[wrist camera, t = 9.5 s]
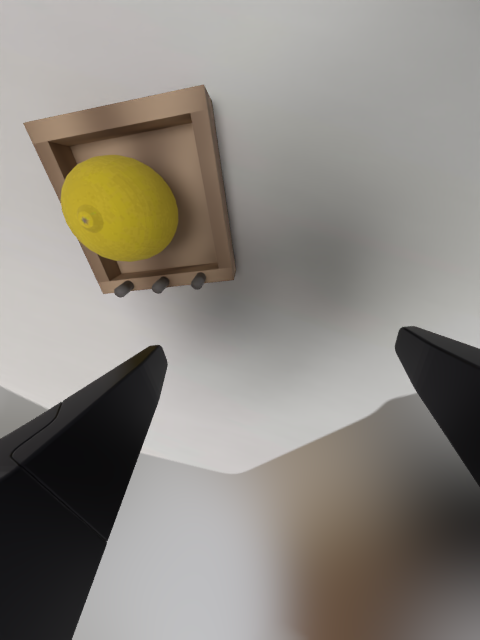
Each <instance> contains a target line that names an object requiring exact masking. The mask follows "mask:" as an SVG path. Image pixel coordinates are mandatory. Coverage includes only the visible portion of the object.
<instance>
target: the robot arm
mask: <svg viewBox="0 0 480 640" xmlns="http://www.w3.org/2000/svg"><path fill="white" fill-rule="evenodd" d="M395 351H396V353H397V355H398V357H399V359H400V361H401V363H402V365H403V367H404V369H405V371H406V373H407V375H408V377H409V379H410V381H411V383H412V384H413V386H414V388H415V390H416V391H417V393H418V395H419V396H420V397H421V399H422V401H423V402H424V404H425V405H426V407H427V408H428V410H429V411H430V413H431V414H432V416H433V417H434V419H435V420H436V422H437V423H438V425H439V426H440V428H441V429H442V431H443V432H444V434H445V435H446V437H447V438H448V440H449V441H450V443H451V445H452V446H453V447H454V449H455V451H456V452H457V454H458V455H459V456H460V458H461V460H462V461H463V463H464V464H465V466H466V467H467V469H468V470H469V472H470V473H471V475H472V476H473V478H474V479H475V481H476V482H477V484H478V485H479V487H480V349H479V348H476V347H473V346H470V345H467V344H464V343H461V342H459V341H456V340H453V339H450V338H447V337H444V336H441V335H438V334H436V333H433V332H430V331H427V330H424V329H421V328H418V327H415V326H409V327H402V328H400V330H399V332H398V336H397V340H396V344H395ZM167 365H168V364H167V359H166V356H165V354H164V351H163V348H162V347H161V346H160V345H153V346H149V347H147V348H146V349H144V350H143V351H141V352H139V353H138V354H136V355H135V356H133V357H132V358H130V359H128V360H127V361H125V362H124V363H122V364H120V365H119V366H117V367H116V368H114V369H113V370H111V371H109V372H108V373H106V374H105V375H103V376H101V377H100V378H98V379H97V380H95V381H94V382H92V383H90V384H89V385H87V386H86V387H84V388H83V389H81V390H79V391H78V392H76V393H75V394H73V395H71V396H70V397H68V398H67V399H65V400H64V401H63V402H60V403H59V404H57V405H56V406H54V407H52V408H51V409H49V410H48V411H46V412H44V413H43V414H41V415H39V416H38V417H36V418H35V419H33V420H31V421H30V422H28V423H26V424H25V425H23V426H21V427H20V428H18V429H16V430H15V431H13V432H11V433H9V434H8V435H6V436H4V437H2V438H1V439H0V640H72V637H73V635H74V632H75V629H76V627H77V623H78V621H79V618H80V615H81V613H82V610H83V607H84V604H85V602H86V599H87V596H88V594H89V591H90V588H91V586H92V583H93V580H94V577H95V574H96V572H97V569H98V566H99V563H100V561H101V558H102V555H103V553H104V550H105V547H106V544H107V542H106V541H108V538H109V536H110V533H111V530H112V528H113V525H114V522H115V519H116V516H117V514H118V511H119V508H120V506H121V503H122V500H123V497H124V495H125V492H126V489H127V486H128V484H129V481H130V478H131V475H132V473H133V470H134V467H135V465H136V462H137V459H138V456H139V454H140V451H141V448H142V445H143V443H144V440H145V437H146V435H147V432H148V429H149V426H150V424H151V421H152V418H153V415H154V413H155V410H156V407H157V404H158V401H159V398H160V394H161V390H162V386H163V382H164V378H165V374H166V370H167Z"/></svg>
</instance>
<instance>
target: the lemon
mask: <svg viewBox="0 0 480 640" xmlns="http://www.w3.org/2000/svg"><path fill="white" fill-rule="evenodd" d="M61 206H62V212H63V214H64V217H65V220H66V222H67V224H68V226H69V228H70V229H71V231H72V233H73V234H74V235H75V236H76V237H77V239H78V240H79V241H80V242H81V243H82V244H83V245H85V246H86V247H87V248H88V249H90V250H91V251H93V252H95V253H97V254H98V255H100V256H102V257H105V258H108V259H111V260H115V261H127V262H132V261H139V260H144V259H148V258H150V257H152V256H154V255H156V254H158V253H160V252H161V251H163V250H164V249H165V248H166V247H167V246H168V245H169V243H170V242H171V240H172V239H173V237H174V235H175V233H176V229H177V225H178V208H177V204H176V200H175V197H174V195H173V193H172V191H171V189H170V187H169V186H168V185H167V183H166V182H165V181H164V179H163V178H162V177H161V176H160V175H159V174H158V173H156V172H155V171H154V170H153V169H152V168H151V167H149V166H147V165H145V164H143V163H141V162H140V161H138V160H136V159H133V158H129V157H125V156H120V155H104V156H96V157H92V158H90V159H88V160H86V161H83V162H81V163H79V164H77V165H76V166H75V167H74V168H73V169H72V170H71V171H70V173H69V174H68V175H67V176H66V179H65V181H64V184H63V186H62V190H61Z"/></svg>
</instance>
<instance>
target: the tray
mask: <svg viewBox="0 0 480 640" xmlns="http://www.w3.org/2000/svg"><path fill="white" fill-rule="evenodd" d="M23 124H24V126H25V128H26V130H27V132H28V134H29V136H30V139H31V141H32V143H33V145H34V147H35V149H36V151H37V153H38V156H39V158H40V160H41V162H42V164H43V166H44V168H45V171H46V173H47V175H48V177H49V179H50V181H51V183H52V185H53V188H54V190H55V192H56V194H57V196H58V198H59V200H60V203H61V190H62V186H63V184H64V181H65V179H66V176H67V175H68V174H69V173H70V171H71V170H72V169H73V168H74V167H75V166H76V165H77V164H79V163H81V162H83V161H86V160H88V159H90V158H92V157H96V156H104V155H120V156H125V157H129V158H133V159H136V160H138V161H140V162H141V163H143V164H145V165H147V166H149V167H151V168H152V169H153V170H154V171H155V172H156V173H158V174H159V175H160V176H161V177H162V178H163V179H164V181H165V182H166V183H167V185H168V186H169V187H170V189H171V191H172V193H173V195H174V197H175V200H176V204H177V208H178V225H177V229H176V233H175V235H174V237H173V239H172V240H171V242H170V243H169V245H168V246H167V247H166V248H165V249H164V250H163V251H161V252H160V253H158V254H156V255H154V256H152V257H150V258H148V259H144V260H139V261H132V262H127V261H115V260H111V259H108V258H105V257H102V256H100V255H98V254H97V253H95V252H93V251H91V250H90V249H88V248H87V247H86V246H85V245H83V244H82V243H81V242H80V241H79V240H78V241H79V243H80V245H81V247H82V249H83V252H84V254H85V256H86V258H87V260H88V262H89V264H90V266H91V269H92V271H93V273H94V275H95V277H96V279H97V281H98V284H99V286H100V288H101V290H102V292H103V294H107V293H115V295H116V296H118V297H124V296H125V295H126V294H127V293H129V292H130V291H135V290H145V289H152V290H153V291H154V292H155V293H161V292H162V291H163V290H164V289H165V288H166V287H173V286H182V285H191V286H192V287H193V288H194V289H200V288H201V287H202V285H203V284H204V283H210V282H220V281H229V280H234V276H235V272H236V267H235V260H234V253H233V246H232V239H231V232H230V225H229V218H228V211H227V204H226V197H225V190H224V183H223V176H222V169H221V162H220V155H219V148H218V141H217V135H216V128H215V121H214V114H213V107H212V101H211V98H210V96H209V94H208V92H207V90H206V88H205V86H204V85H200V86H195V87H190V88H186V89H181V90H176V91H171V92H167V93H162V94H157V95H153V96H148V97H143V98H138V99H134V100H129V101H124V102H120V103H115V104H110V105H105V106H101V107H96V108H91V109H87V110H82V111H77V112H72V113H68V114H63V115H58V116H54V117H49V118H44V119H39V120H35V121H30V122H25V123H23Z"/></svg>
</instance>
